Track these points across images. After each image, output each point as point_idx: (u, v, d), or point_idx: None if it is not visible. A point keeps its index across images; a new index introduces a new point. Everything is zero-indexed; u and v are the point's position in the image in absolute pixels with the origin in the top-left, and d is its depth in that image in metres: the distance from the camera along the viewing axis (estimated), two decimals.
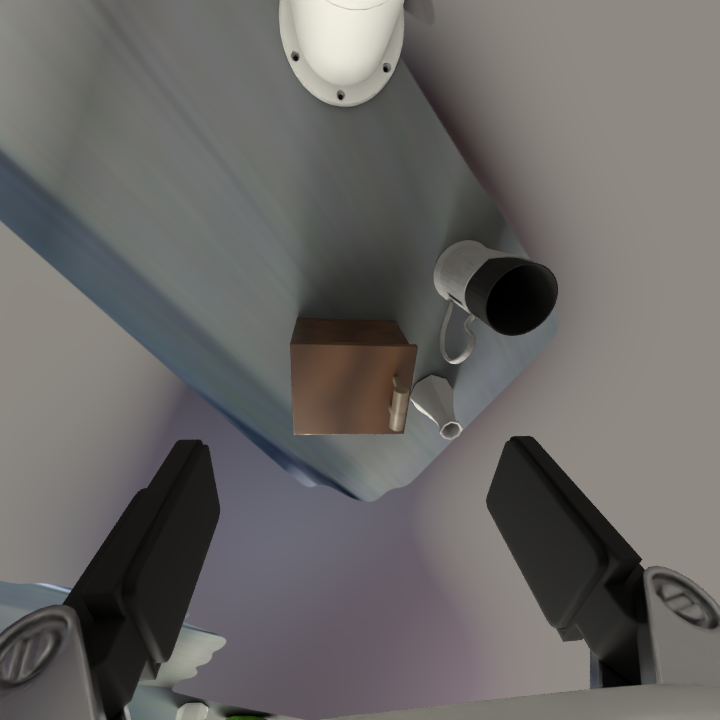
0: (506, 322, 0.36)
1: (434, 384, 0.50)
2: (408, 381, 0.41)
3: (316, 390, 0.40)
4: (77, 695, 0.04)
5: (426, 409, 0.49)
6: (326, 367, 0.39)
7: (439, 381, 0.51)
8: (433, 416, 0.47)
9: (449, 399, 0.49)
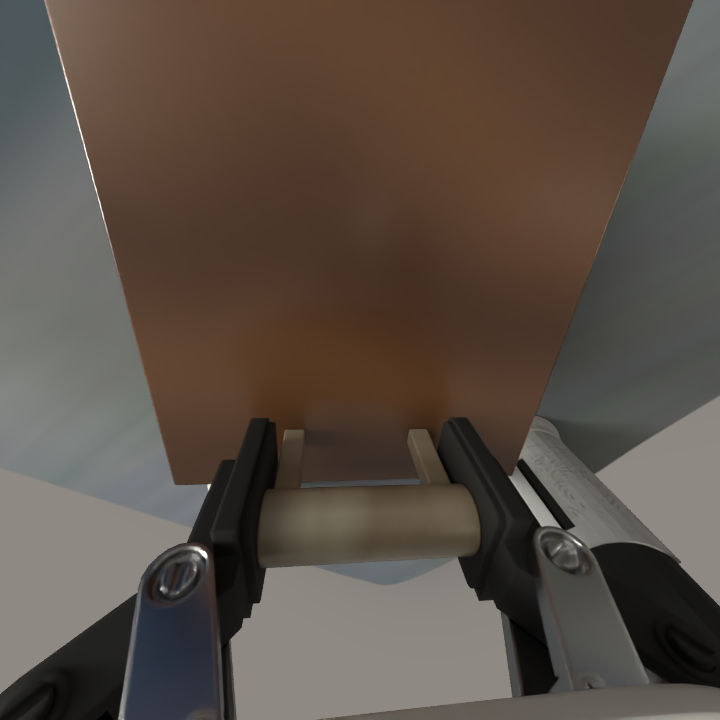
0: None
1: None
2: (399, 471, 0.12)
3: (401, 86, 0.07)
4: (206, 629, 0.05)
5: None
6: (522, 162, 0.08)
7: None
8: None
9: None
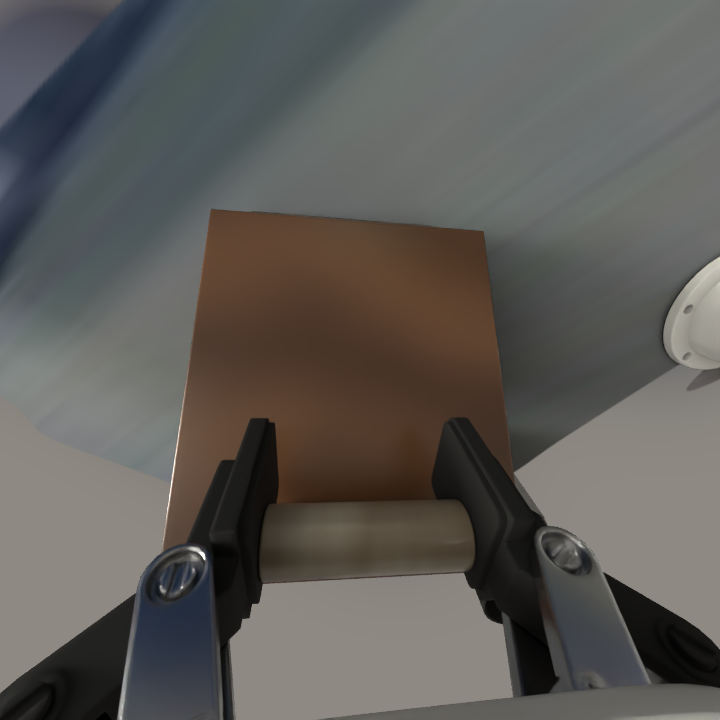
0: None
1: None
2: None
3: (362, 276, 0.15)
4: (205, 629, 0.05)
5: None
6: (432, 303, 0.15)
7: None
8: None
9: None
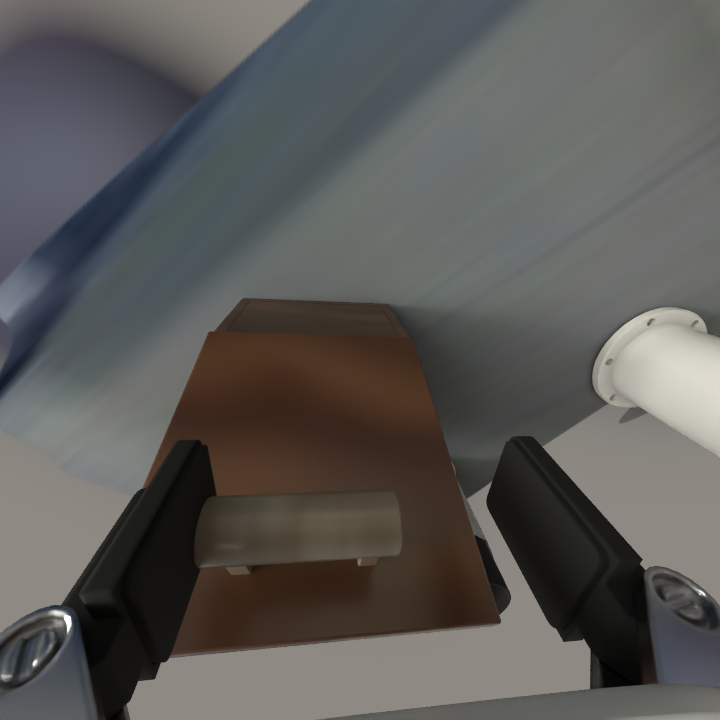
0: None
1: None
2: (358, 618, 0.10)
3: (319, 366, 0.19)
4: (77, 695, 0.04)
5: None
6: (376, 381, 0.18)
7: None
8: None
9: None
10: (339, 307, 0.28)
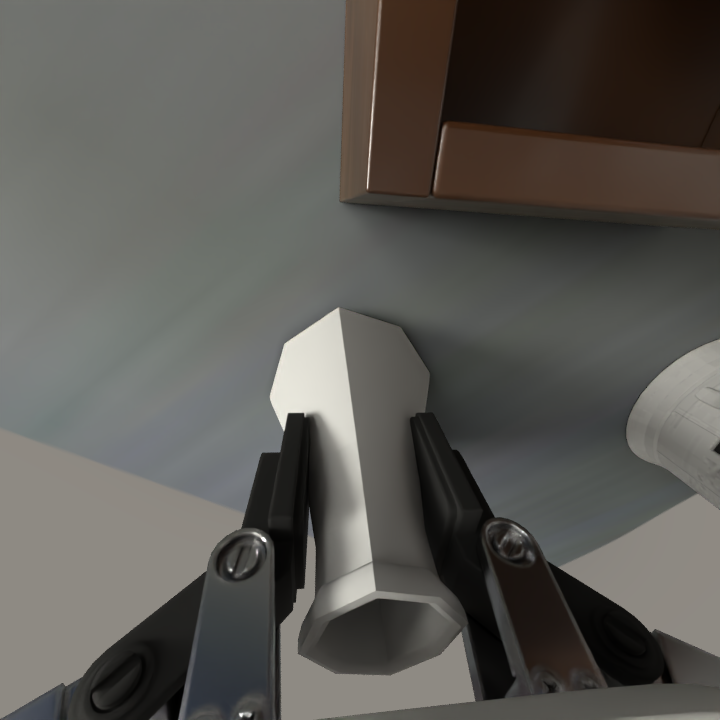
0: None
1: (424, 397, 0.13)
2: None
3: None
4: (264, 615, 0.05)
5: (360, 398, 0.10)
6: None
7: None
8: (365, 452, 0.08)
9: None
10: None
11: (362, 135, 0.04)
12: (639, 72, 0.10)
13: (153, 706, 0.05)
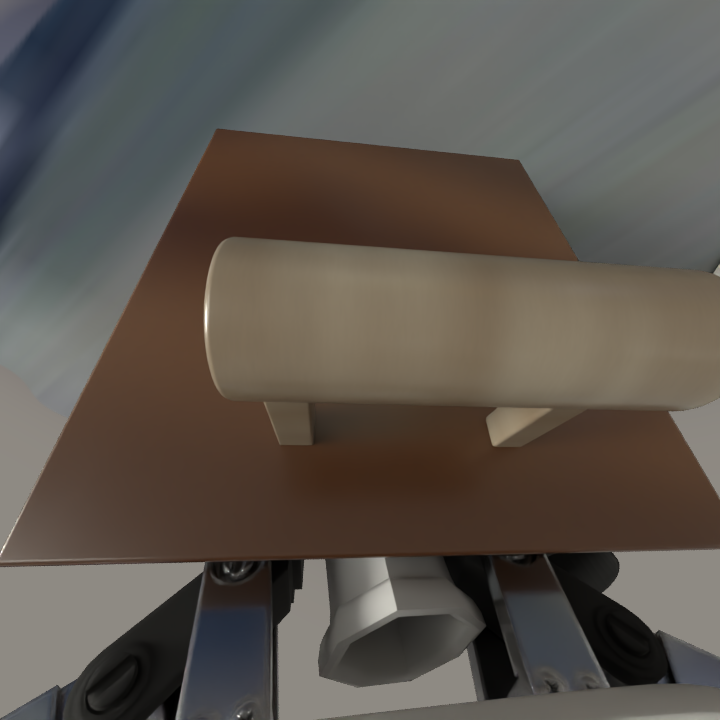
0: None
1: None
2: (506, 524, 0.06)
3: (388, 182, 0.12)
4: (261, 616, 0.05)
5: None
6: (476, 207, 0.12)
7: None
8: None
9: None
10: None
11: None
12: None
13: (149, 707, 0.05)
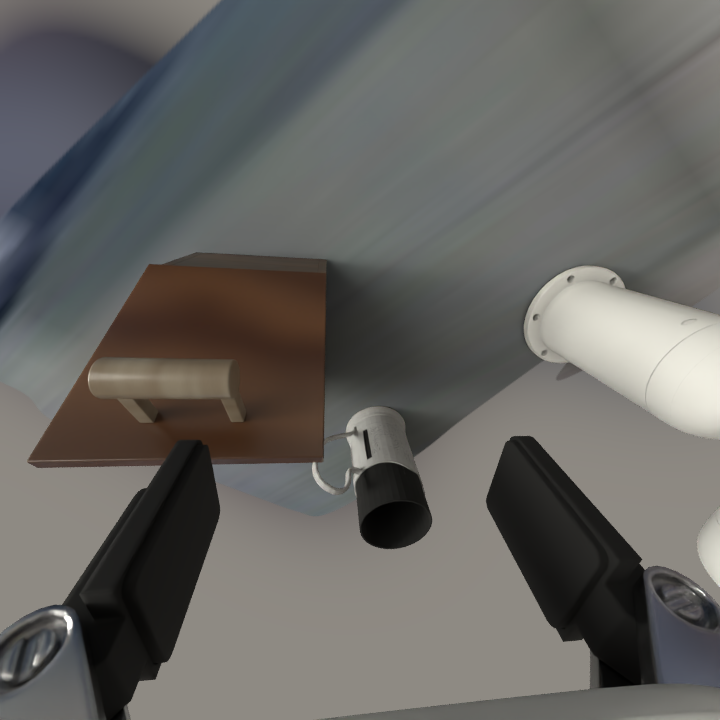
0: None
1: None
2: (223, 449, 0.16)
3: (238, 293, 0.23)
4: (77, 695, 0.04)
5: None
6: (282, 306, 0.22)
7: None
8: None
9: None
10: (279, 259, 0.32)
11: None
12: None
13: None
